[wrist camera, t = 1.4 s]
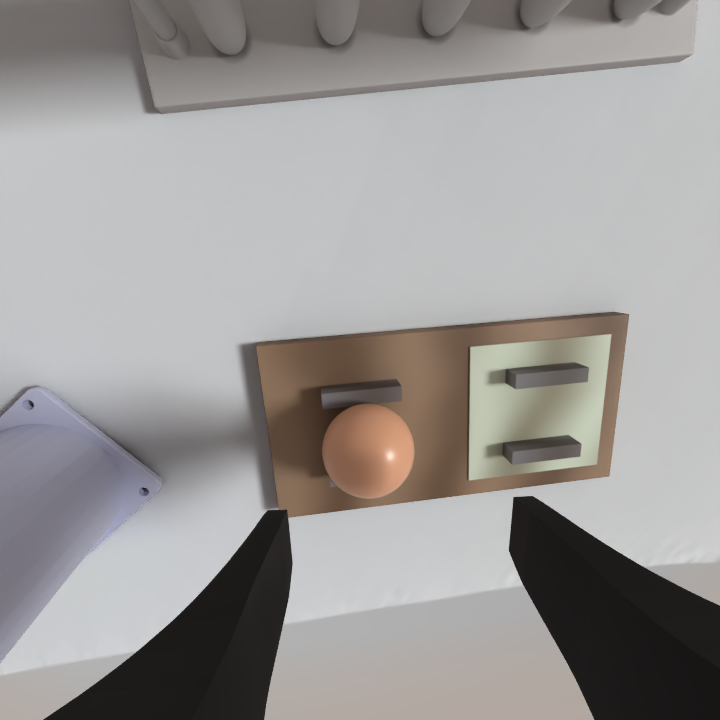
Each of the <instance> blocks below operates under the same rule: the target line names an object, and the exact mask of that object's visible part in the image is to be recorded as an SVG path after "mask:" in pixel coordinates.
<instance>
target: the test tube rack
mask: <svg viewBox="0 0 720 720" xmlns="http://www.w3.org/2000/svg"><path fill="white" fill-rule="evenodd" d="M129 3H130V7H131V12H132V16H133V20H134V24H135V28H136V32H137V36H138V40H139V45H140V49H141V53H142V57H143V61H144V65H145V69H146V74H147V78H148V82H149V86H150V90H151V94H152V99H153V103H154V106H155V108H156V109H157V110H158V111H159V112H160V113H161V114H166V113H176V112H186V111H196V110H206V109H215V108H225V107H235V106H245V105H255V104H265V103H275V102H285V101H295V100H305V99H315V98H325V97H335V96H345V95H355V94H365V93H374V92H384V91H394V90H404V89H414V88H424V87H434V86H444V85H454V84H464V83H474V82H484V81H494V80H504V79H514V78H524V77H534V76H544V75H554V74H564V73H574V72H584V71H594V70H604V69H614V68H624V67H634V66H645V65H655V64H665V63H675V62H680V61H682V60H684V59H686V58H687V57H689V56H691V55H693V53H694V45H695V34H696V23H697V12H698V0H129Z"/></svg>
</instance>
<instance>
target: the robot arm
mask: <svg viewBox="0 0 720 720" xmlns="http://www.w3.org/2000/svg"><path fill="white" fill-rule="evenodd" d="M28 400H30V401H32V402H33V403H34V407H33V406H31V405H30V404H29V403H28ZM161 486H162V479H161V478H160V477H159V476H158V475H157V474H155V473H154V472H153V471H152V470H150V469H149V468H148V467H146V466H145V465H144V464H143V463H141V462H140V461H139V460H137V459H136V458H135V457H133V456H132V455H131V454H130V453H128V452H127V451H126V450H124V449H123V448H122V447H121V446H119V445H118V444H117V443H115V442H114V441H113V440H112V439H110V438H109V437H108V436H106V435H105V434H104V433H103V432H101V431H100V430H99V429H97V428H96V427H95V426H94V425H92V424H91V423H90V422H88V421H87V420H86V419H84V418H83V417H82V416H81V415H79V414H78V413H77V412H75V411H74V410H73V409H72V408H70V407H69V406H68V405H66V404H65V403H64V402H63V401H61V400H60V399H59V398H57V397H56V396H55V395H54V394H52V393H51V392H50V391H48V390H47V389H45V388H44V387H40V386H37V387H33V388H31V389H29V390H27V391H26V392H25V393H24V394H23V395H22V396H21V397H20V398H19V399H18V400H17V401H16V402H15V403H14V404H13V405H12V406H11V407H10V408H9V409H8V410H7V411H6V412H5V413H4V414H3V415H2V416H1V417H0V663H1V662H2V660H3V659H4V658H5V656H6V655H7V654H8V653H9V651H10V650H11V649H12V648H13V646H14V645H15V644H16V643H17V641H18V640H19V639H20V638H21V636H22V635H23V634H24V633H25V631H26V630H27V629H28V628H29V626H30V625H31V624H32V623H33V621H34V620H35V619H36V618H37V616H38V615H39V614H40V612H41V611H42V610H43V609H44V607H45V606H46V605H47V604H48V602H49V601H50V600H51V599H52V597H53V596H54V595H55V594H56V592H57V591H58V590H59V589H60V587H61V586H62V585H63V584H64V582H65V581H66V580H67V579H68V577H69V576H70V575H71V574H72V572H73V571H74V570H75V569H76V567H77V566H78V565H79V563H80V562H81V561H82V560H83V559H84V558H85V557H86V556H87V555H89V554H90V553H91V552H92V551H93V550H94V549H95V548H96V547H97V546H98V545H99V544H101V543H102V542H103V541H104V540H105V539H106V538H107V537H108V536H109V535H110V534H112V533H113V532H114V531H115V530H116V529H117V528H118V527H119V526H120V525H121V524H122V523H124V522H125V521H126V520H127V519H128V518H129V517H130V516H131V515H132V514H133V513H134V512H136V511H137V510H138V509H139V508H140V507H141V506H142V505H143V504H144V503H145V502H147V501H148V500H149V499H150V498H151V497H152V496H153V495H154V494H155V493H156V492H157V491H158V490H159V489H160V487H161ZM142 488H147V489H148V490H149V492H146V491H144V490H143V489H142ZM509 552H510V554H511V557H512V559H513V562H514V564H515V567H516V569H517V572H518V574H519V576H520V579H521V581H522V583H523V585H524V587H525V589H526V590H527V592H528V594H529V596H530V598H531V599H532V601H533V603H534V605H535V607H536V608H537V610H538V612H539V614H540V616H541V617H542V619H543V621H544V623H545V624H546V626H547V628H548V630H549V632H550V633H551V635H552V637H553V639H554V640H555V642H556V644H557V646H558V647H559V649H560V651H561V653H562V654H563V656H564V658H565V660H566V661H567V663H568V665H569V667H570V669H571V671H572V673H573V675H574V677H575V679H576V681H577V683H578V685H579V687H580V689H581V691H582V694H583V696H584V698H585V700H586V702H587V704H588V707H589V709H590V711H591V713H592V715H593V717H594V720H720V606H719V605H717V604H715V603H713V602H710V601H708V600H706V599H704V598H702V597H700V596H698V595H696V594H694V593H691V592H690V591H687V590H686V589H684V588H682V587H680V586H678V585H676V584H674V583H672V582H670V581H668V580H666V579H665V578H663V577H661V576H658V575H657V574H655V573H653V572H651V571H649V570H648V569H646V568H644V567H643V566H641V565H639V564H637V563H636V562H634V561H632V560H631V559H629V558H627V557H626V556H624V555H622V554H621V553H619V552H617V551H616V550H614V549H612V548H611V547H609V546H608V545H606V544H604V543H603V542H601V541H600V540H598V539H597V538H595V537H594V536H592V535H590V534H589V533H587V532H586V531H584V530H583V529H581V528H580V527H578V526H577V525H575V524H574V523H572V522H571V521H570V520H568V519H567V518H565V517H564V516H562V515H561V514H559V513H558V512H556V511H555V510H553V509H552V508H550V507H549V506H547V505H546V504H544V503H543V502H541V501H540V500H538V499H536V498H535V497H533V496H526V497H514V499H513V510H512V521H511V533H510V544H509ZM291 573H292V553H291V543H290V533H289V523H288V512H287V510H269V511H267V512H266V513H265V514H264V515H263V517H262V518H261V519H260V521H259V522H258V524H257V525H256V526H255V528H254V529H253V531H252V532H251V533H250V535H249V536H248V537H247V539H246V540H245V541H244V543H243V544H242V545H241V546H240V548H239V549H238V550H237V551H236V553H235V554H234V555H233V556H232V558H231V559H230V560H229V561H228V563H227V564H226V565H225V566H224V567H223V568H222V570H221V571H220V572H219V573H218V574H217V575H216V576H215V578H214V579H213V580H212V581H211V582H210V583H209V584H208V586H207V587H206V588H205V589H204V590H203V591H202V592H201V593H200V594H199V595H198V596H197V597H196V598H195V599H194V600H193V601H192V602H191V603H190V604H189V605H188V606H187V607H186V608H185V609H184V610H183V611H182V612H181V613H180V614H179V615H178V616H177V617H176V618H175V619H174V620H173V621H172V622H171V623H170V624H168V625H167V626H166V627H165V628H164V629H163V630H162V631H161V632H159V633H158V634H157V635H156V636H155V637H154V638H152V639H151V640H150V641H149V642H148V643H147V644H146V645H144V646H143V647H142V648H141V649H140V650H139V651H137V652H136V653H135V654H134V655H132V656H131V657H130V658H129V659H127V660H126V661H125V662H124V663H122V664H121V665H120V666H118V667H117V668H116V669H114V670H113V671H112V672H110V673H109V674H108V675H106V676H105V677H104V678H103V679H101V680H100V681H98V682H97V683H96V684H94V685H93V686H92V687H90V688H89V689H87V690H86V691H85V692H83V693H82V694H80V695H79V696H78V697H76V698H75V699H73V700H72V701H70V702H69V703H67V704H66V705H64V706H63V707H61V708H60V709H58V710H57V711H56V712H54V713H53V714H51V715H50V716H48V717H47V718H45V719H44V720H264V716H265V709H266V702H267V697H268V691H269V686H270V681H271V676H272V672H273V667H274V662H275V657H276V653H277V649H278V644H279V640H280V636H281V631H282V626H283V622H284V617H285V613H286V608H287V603H288V599H289V591H290V582H291Z"/></svg>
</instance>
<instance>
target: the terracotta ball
mask: <svg viewBox="0 0 720 720" xmlns="http://www.w3.org/2000/svg"><path fill="white" fill-rule="evenodd" d="M414 454H415V449H414V441H413V437H412V434H411V432H410V430H409V428H408V426H407V424H406V423H405V422H404V421H403V419H402V418H401V417H400V416H399V415H398V414H396V413H395V412H394V411H392V410H391V409H389V408H387V407H384V406H381V405H377V404H359V405H355V406H352V407H350V408H348V409H346V410H344V411H343V412H341V413H340V414H339V415H338V416H337V417H336V418H335V419H334V420H333V421H332V422H331V424H330V425H329V427H328V429H327V431H326V433H325V436H324V440H323V447H322V456H323V462H324V466H325V469H326V471H327V473H328V475H329V477H330V478H331V479H332V481H333V482H334V483H335V484H336V485H337V486H338V487H339V488H340V489H341V490H343V491H344V492H346V493H348V494H350V495H352V496H355V497H358V498H365V499H372V498H379V497H382V496H385V495H388V494H390V493H391V492H393V491H394V490H396V489H397V488H398V487H399V486H400V485H401V484H402V483H403V482H404V481H405V480H406V478H407V477H408V475H409V473H410V471H411V469H412V465H413V461H414Z"/></svg>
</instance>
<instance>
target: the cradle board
mask: <svg viewBox="0 0 720 720" xmlns="http://www.w3.org/2000/svg"><path fill="white" fill-rule="evenodd" d="M628 320H629V314H624V313H618V312H609V313H597V314H586V315H574V316H562V317H550V318H539V319H527V320H515V321H503V322H492V323H480V324H468V325H456V326H445V327H433V328H421V329H409V330H398V331H386V332H374V333H363V334H351V335H339V336H327V337H316V338H304V339H292V340H280V341H269V342H259V343H258V344H257V346H256V350H257V357H258V364H259V371H260V378H261V385H262V393H263V400H264V407H265V414H266V421H267V428H268V435H269V442H270V449H271V456H272V464H273V471H274V478H275V485H276V492H277V499H278V506H279V510H287V512H288V518H289V517H297V516H304V515H312V514H320V513H328V512H336V511H343V510H351V509H359V508H367V507H374V506H382V505H390V504H398V503H405V502H413V501H421V500H429V499H437V498H444V497H452V496H460V495H468V494H475V493H483V492H491V491H499V490H506V489H514V488H522V487H530V486H538V485H545V484H553V483H561V482H569V481H576V480H584V479H592V478H600V477H607V476H609V474H610V466H611V458H612V450H613V442H614V434H615V425H616V417H617V409H618V401H619V393H620V385H621V377H622V368H623V360H624V352H625V344H626V336H627V328H628ZM359 404H377V405H381V406H384V407H387V408H389V409H391V410H392V411H394V412H395V413H396V414H398V415H399V416H400V417H401V418H402V419H403V421H404V422H405V423H406V424H407V426H408V428H409V430H410V432H411V434H412V437H413V441H414V449H415V454H414V461H413V465H412V469H411V471H410V473H409V475H408V477H407V478H406V480H405V481H404V482H403V483H402V484H401V485H400V486H399V487H398V488H397V489H396V490H394V491H393V492H391V493H390V494H388V495H385V496H382V497H379V498H372V499H365V498H358V497H355V496H352V495H350V494H348V493H346V492H344V491H343V490H341V489H340V488H339V487H338V486H337V485H336V484H335V483H334V482H333V481H332V479H331V478H330V477H329V475H328V473H327V471H326V469H325V466H324V462H323V456H322V447H323V440H324V436H325V433H326V431H327V429H328V427H329V425H330V424H331V422H332V421H333V420H334V419H335V418H336V417H337V416H338V415H339V414H340V413H341V412H343V411H344V410H346V409H348V408H350V407H352V406H355V405H359Z"/></svg>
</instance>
